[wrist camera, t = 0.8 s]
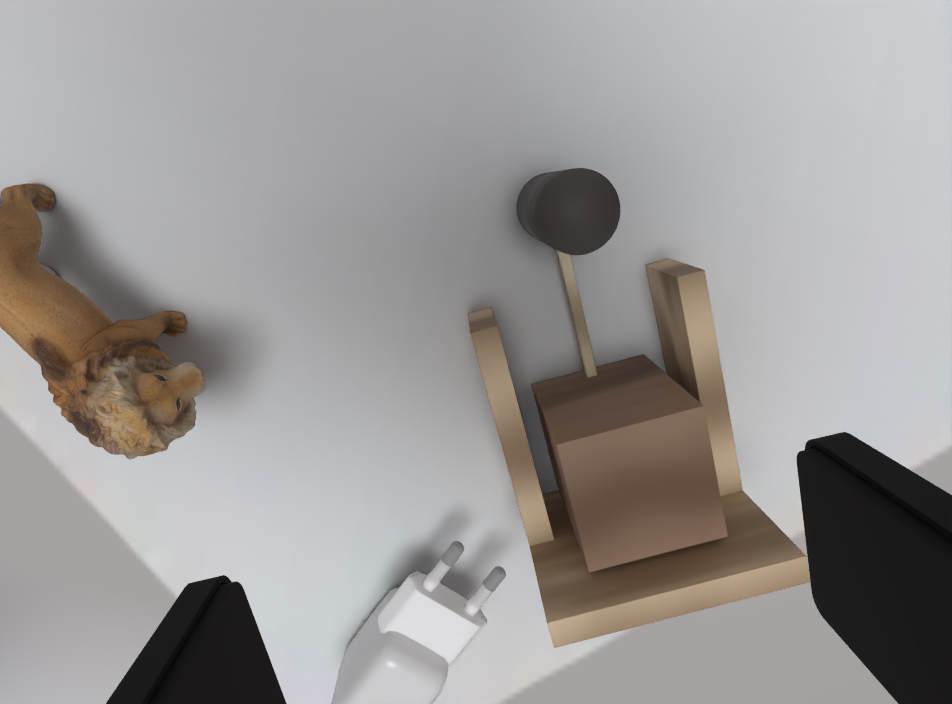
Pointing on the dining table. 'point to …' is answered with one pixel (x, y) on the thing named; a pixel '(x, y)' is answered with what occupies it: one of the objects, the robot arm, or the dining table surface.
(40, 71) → the dining table surface
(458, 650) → the power adapter
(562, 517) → the wooden stand
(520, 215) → the wooden lever toy
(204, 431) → the dining table surface
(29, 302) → the lion figurine
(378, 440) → the dining table surface
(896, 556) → the robot arm
